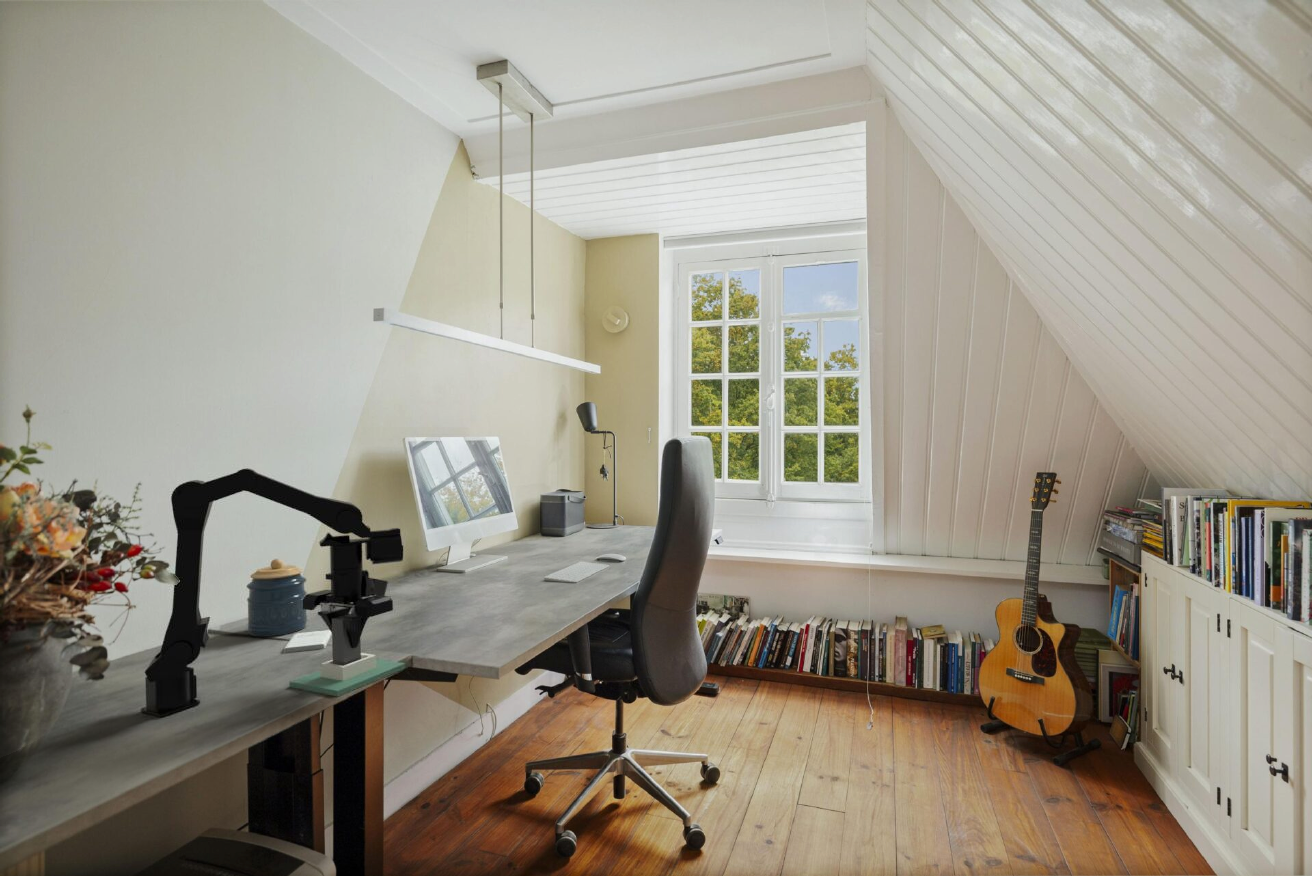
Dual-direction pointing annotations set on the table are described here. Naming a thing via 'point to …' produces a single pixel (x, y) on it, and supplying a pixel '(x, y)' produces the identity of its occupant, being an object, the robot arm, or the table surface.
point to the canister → (276, 600)
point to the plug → (343, 644)
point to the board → (346, 675)
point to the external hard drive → (308, 641)
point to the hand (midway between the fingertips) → (348, 646)
